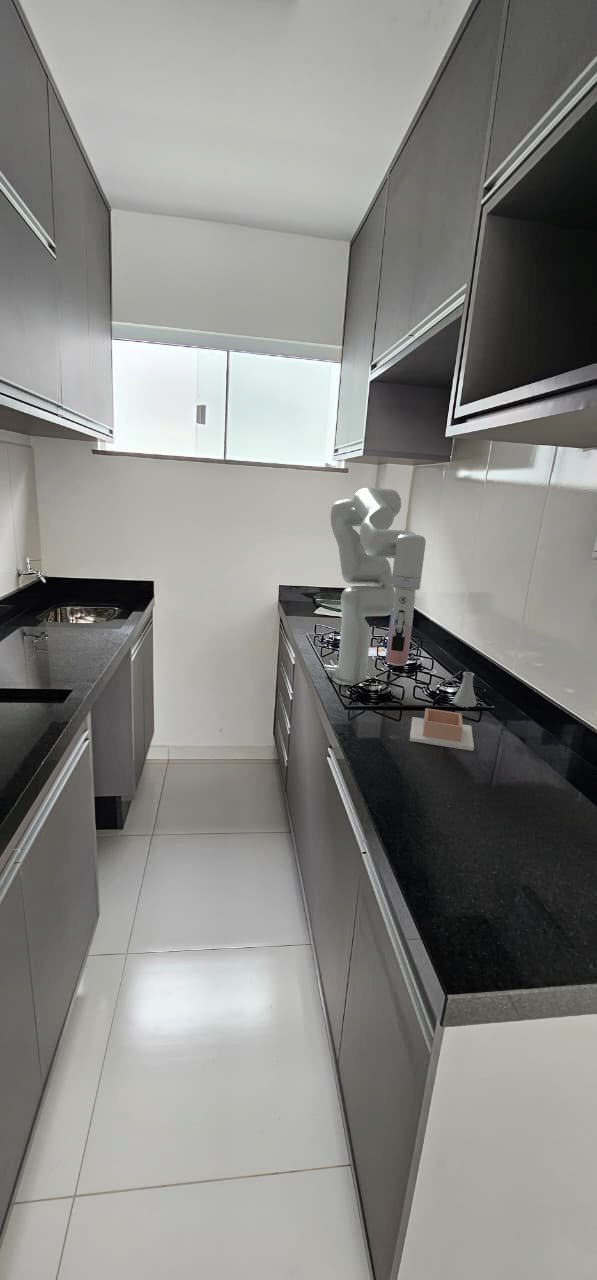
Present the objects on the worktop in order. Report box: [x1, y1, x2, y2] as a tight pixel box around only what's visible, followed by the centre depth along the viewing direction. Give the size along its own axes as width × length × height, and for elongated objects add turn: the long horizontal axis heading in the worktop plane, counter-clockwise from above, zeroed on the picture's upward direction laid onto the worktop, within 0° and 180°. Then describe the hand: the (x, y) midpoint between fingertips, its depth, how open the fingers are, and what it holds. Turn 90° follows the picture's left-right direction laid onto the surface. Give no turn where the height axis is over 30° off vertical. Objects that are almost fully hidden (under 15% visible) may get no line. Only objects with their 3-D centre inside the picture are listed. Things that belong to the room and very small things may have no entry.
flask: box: [451, 671, 478, 709], centre depth 176 cm, size 7×7×10 cm
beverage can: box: [385, 608, 414, 667], centre depth 157 cm, size 6×6×15 cm
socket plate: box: [409, 707, 475, 751], centre depth 154 cm, size 16×14×5 cm
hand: (398, 646), depth 158 cm, fingers closed on beverage can, 6 cm apart
